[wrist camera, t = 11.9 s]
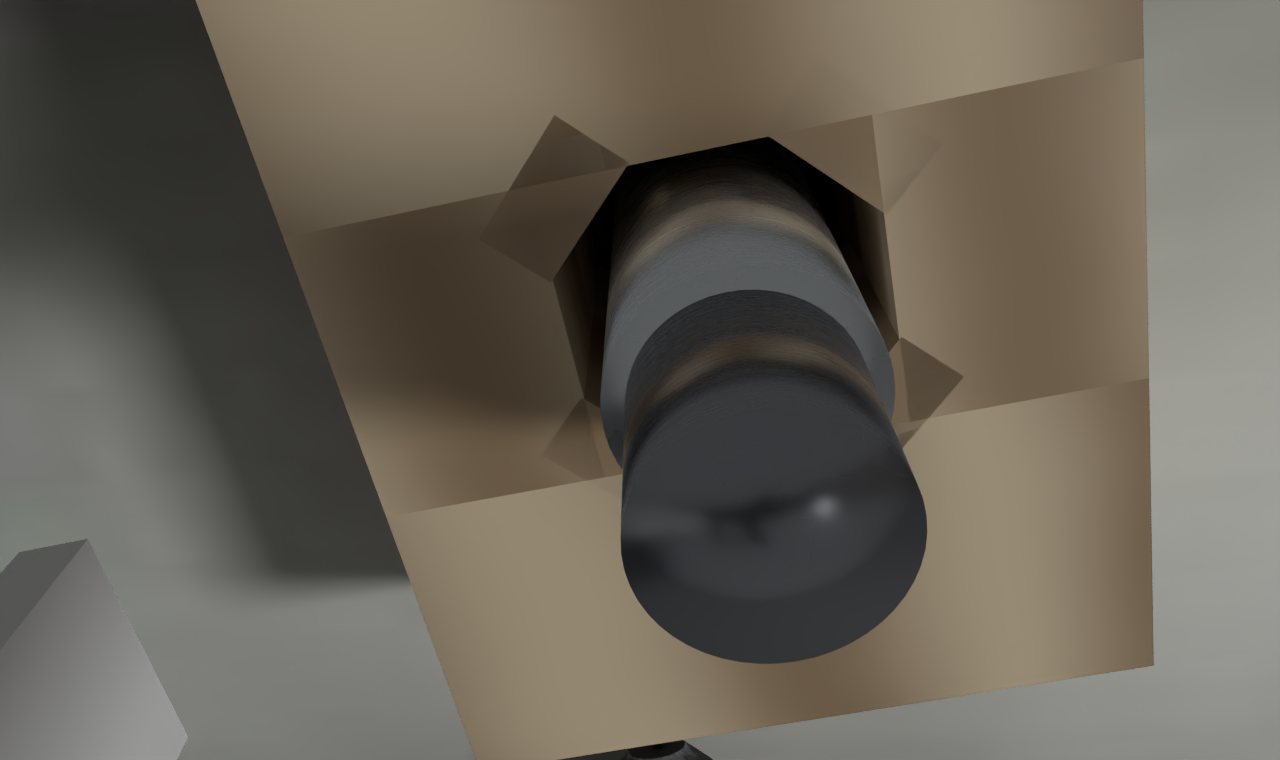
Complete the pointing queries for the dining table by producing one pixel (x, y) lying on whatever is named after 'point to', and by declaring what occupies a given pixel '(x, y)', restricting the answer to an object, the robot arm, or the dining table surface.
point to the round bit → (751, 413)
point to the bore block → (577, 309)
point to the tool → (666, 752)
